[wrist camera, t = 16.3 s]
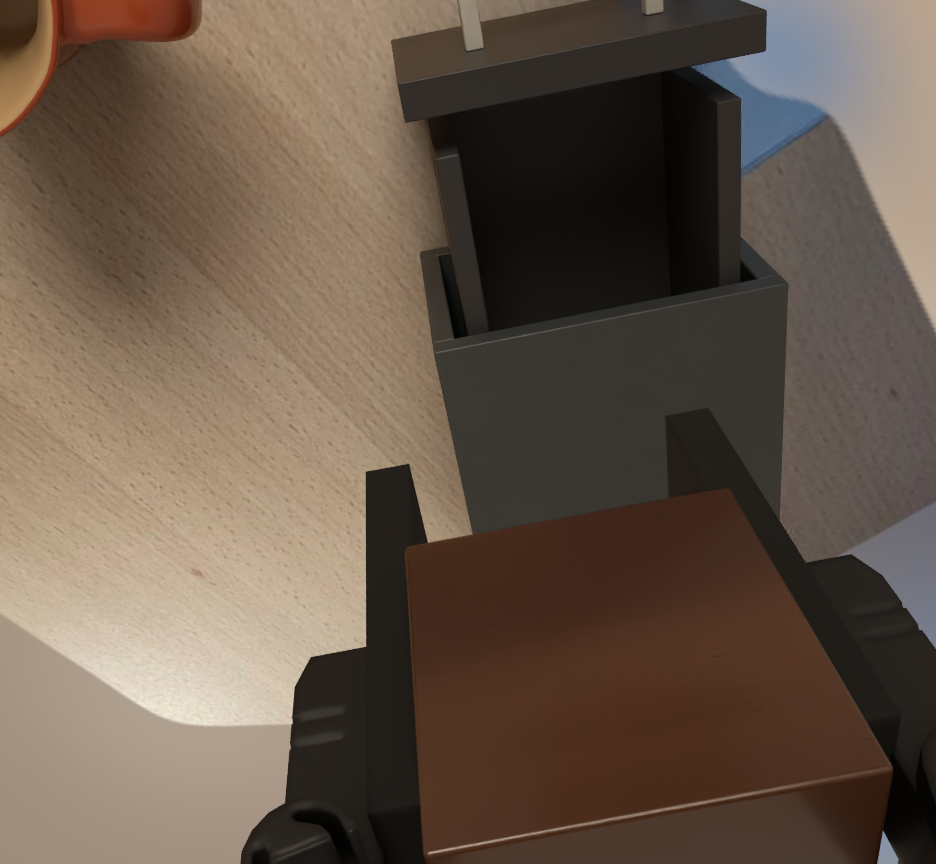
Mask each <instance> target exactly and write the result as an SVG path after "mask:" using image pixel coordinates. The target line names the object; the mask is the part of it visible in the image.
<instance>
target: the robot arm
mask: <svg viewBox="0 0 936 864" xmlns="http://www.w3.org/2000/svg"><path fill="white" fill-rule="evenodd" d="M665 425H666V449H667V474H668V498H671V497H676V496H682V495H687V494H692V493H698V492H703V491H709V490H714V489H719V488H725V487H727V488H730V489H731V491H732V493H733V495H734V496H735V498H736V500H737V501H738V503H739V505H740V506H741V508H742V510H743V512H744V513H745V515H746V517H747V518H748V520H749V522H750V524H751V525H752V527H753V529H754V530H755V532H756V534H757V536H758V537H759V539H760V541H761V542H762V544H763V546H764V548H765V549H766V551H767V553H768V554H769V556H770V558H771V560H772V561H773V563H774V565H775V566H776V568H777V570H778V572H779V573H780V575H781V577H782V578H783V580H784V582H785V584H786V585H787V587H788V589H789V590H790V592H791V594H792V596H793V597H794V599H795V601H796V602H797V604H798V606H799V607H800V609H801V611H802V613H803V614H804V616H805V618H806V619H807V621H808V623H809V625H810V626H811V628H812V630H813V631H814V633H815V635H816V637H817V638H818V640H819V642H820V643H821V645H822V647H823V649H824V650H825V652H826V654H827V655H828V657H829V659H830V661H831V662H832V664H833V666H834V667H835V669H836V671H837V673H838V674H839V676H840V678H841V679H842V681H843V683H844V685H845V686H846V688H847V690H848V691H849V693H850V695H851V697H852V698H853V700H854V702H855V703H856V705H857V707H858V708H859V710H860V712H861V714H862V715H863V717H864V719H865V720H866V722H867V724H868V726H869V727H870V729H871V731H872V732H873V734H874V736H875V738H876V739H877V741H878V743H879V744H880V746H881V748H882V750H883V751H884V753H885V755H886V756H887V758H888V760H889V762H890V763H891V765H892V767H893V776H892V782H891V788H890V793H889V799H888V805H887V810H886V816H885V822H884V827H883V831H884V833H885V835H886V837H887V838H888V840H889V842H890V844H891V846H892V848H893V849H894V851H895V853H896V855H897V857H898V859H899V861H898V864H936V649H935V647H934V646H933V645H932V643H931V642H930V641H929V639H928V638H927V636H926V635H925V634H924V633H923V631H922V630H919V628H918V624H917V623H916V621H915V620H914V618H913V617H912V616H911V614H910V613H909V612H908V610H907V609H906V608H903V606H902V602H901V600H900V599H899V598H898V596H897V595H896V594H895V592H894V591H893V589H892V588H891V587H890V586H889V584H888V583H887V581H886V580H885V578H884V577H883V576H882V575H881V574H879V573H878V572H877V571H875V570H874V569H872V568H871V567H869V566H868V565H866V564H865V563H863V562H862V561H860V560H859V559H857V558H856V557H854V556H853V555H846V556H840V557H835V558H829V559H824V560H818V561H813V562H808V563H806V562H805V561H804V559H803V557H802V556H801V554H800V553H799V551H798V549H797V548H796V546H795V545H794V543H793V541H792V540H791V538H790V537H789V535H788V534H787V532H786V530H785V529H784V527H783V526H782V524H781V522H780V521H779V519H778V518H777V516H776V514H775V513H774V511H773V510H772V508H771V507H770V505H769V503H768V502H767V500H766V499H765V497H764V495H763V494H762V492H761V491H760V489H759V487H758V486H757V484H756V483H755V481H754V480H753V478H752V476H751V475H750V473H749V472H748V470H747V468H746V467H745V465H744V464H743V462H742V460H741V459H740V457H739V456H738V454H737V453H736V451H735V449H734V448H733V446H732V445H731V443H730V441H729V440H728V438H727V437H726V435H725V433H724V432H723V430H722V429H721V427H720V426H719V424H718V422H717V421H716V419H715V418H714V416H713V414H712V413H711V411H710V410H709V408H705V409H699V410H694V411H689V412H683V413H678V414H673V415H667V416H665ZM425 543H428V541H427V537H426V533H425V529H424V525H423V520H422V516H421V512H420V508H419V504H418V499H417V495H416V491H415V487H414V483H413V479H412V474H411V470H410V466H409V464H406V465H400V466H395V467H390V468H384V469H379V470H373V471H368V472H366V647H363V648H358V649H352V650H347V651H341V652H336V653H331V654H325V655H320V656H315V657H311V658H310V660H309V662H308V663H307V665H306V667H305V669H304V671H303V673H302V675H301V677H300V678H299V680H298V682H297V684H296V686H295V691H294V703H293V715H292V719H293V724H292V727H291V740H290V745H291V750H290V751H289V763H288V775H287V787H286V798H285V804H283V805H281V806H279V807H278V808H276V809H274V810H273V811H271V812H269V813H268V814H267V815H266V816H265V817H264V818H263V819H262V820H261V821H260V822H259V824H258V825H257V826H256V827H255V828H254V829H253V830H252V832H251V834H250V836H249V838H248V840H247V842H246V844H245V846H244V848H243V850H242V854H241V864H426V863H425V860H424V857H423V851H422V834H421V817H420V800H419V783H418V766H417V749H416V732H415V715H414V698H413V681H412V664H411V647H410V630H409V613H408V596H407V578H406V561H405V550H406V548H407V547H409V546H414V545H419V544H425Z"/></svg>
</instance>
